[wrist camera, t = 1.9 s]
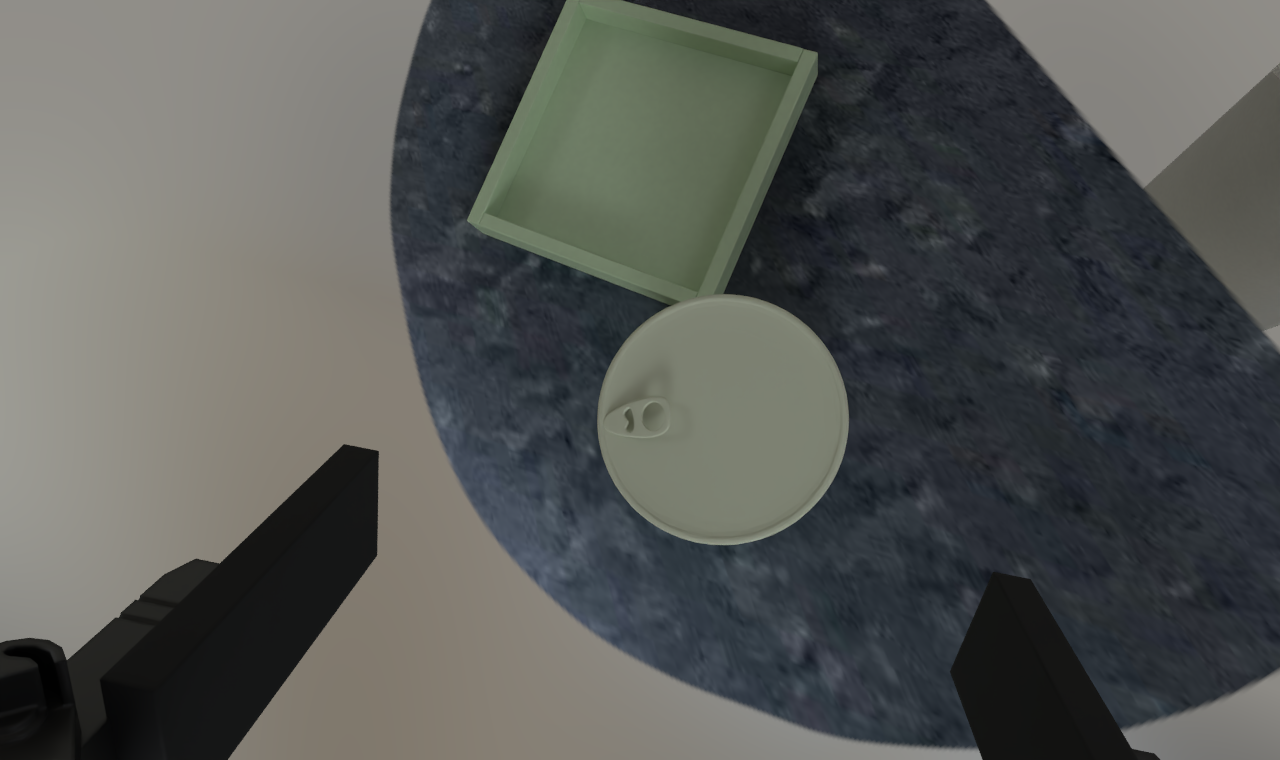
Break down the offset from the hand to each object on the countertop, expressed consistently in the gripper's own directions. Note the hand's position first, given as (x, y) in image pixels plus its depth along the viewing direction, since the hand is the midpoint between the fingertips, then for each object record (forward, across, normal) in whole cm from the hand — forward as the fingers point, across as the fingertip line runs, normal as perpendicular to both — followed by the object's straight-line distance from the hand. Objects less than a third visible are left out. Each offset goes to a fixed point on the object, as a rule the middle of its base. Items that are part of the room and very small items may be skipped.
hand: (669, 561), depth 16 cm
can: (+21, +4, -7) cm, 22 cm away
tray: (+29, -4, +5) cm, 30 cm away
